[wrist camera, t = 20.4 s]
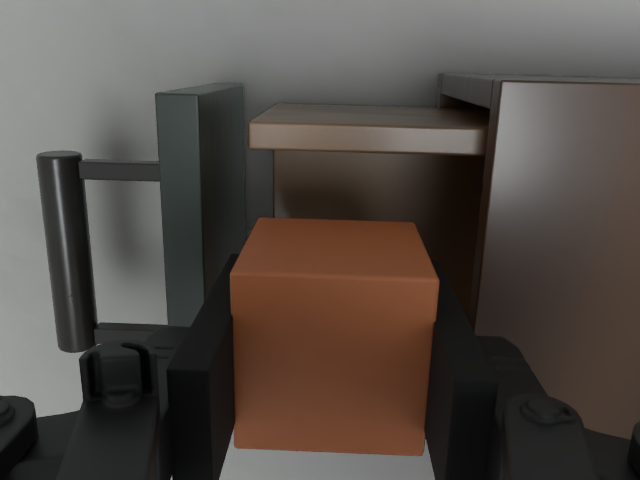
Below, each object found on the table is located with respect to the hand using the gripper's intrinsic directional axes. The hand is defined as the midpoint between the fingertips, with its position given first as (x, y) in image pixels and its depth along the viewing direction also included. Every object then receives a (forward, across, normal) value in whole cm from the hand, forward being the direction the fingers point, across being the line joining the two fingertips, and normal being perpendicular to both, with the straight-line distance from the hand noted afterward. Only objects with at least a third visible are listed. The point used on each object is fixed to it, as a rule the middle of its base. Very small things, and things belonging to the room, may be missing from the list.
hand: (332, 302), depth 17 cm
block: (0, 0, 0) cm, 0 cm away
